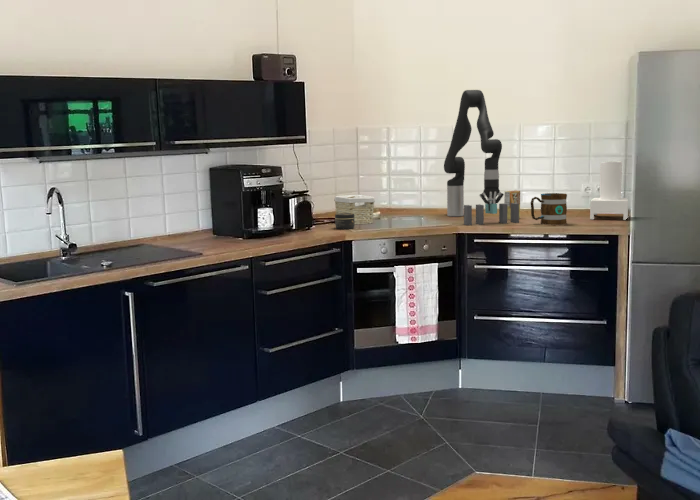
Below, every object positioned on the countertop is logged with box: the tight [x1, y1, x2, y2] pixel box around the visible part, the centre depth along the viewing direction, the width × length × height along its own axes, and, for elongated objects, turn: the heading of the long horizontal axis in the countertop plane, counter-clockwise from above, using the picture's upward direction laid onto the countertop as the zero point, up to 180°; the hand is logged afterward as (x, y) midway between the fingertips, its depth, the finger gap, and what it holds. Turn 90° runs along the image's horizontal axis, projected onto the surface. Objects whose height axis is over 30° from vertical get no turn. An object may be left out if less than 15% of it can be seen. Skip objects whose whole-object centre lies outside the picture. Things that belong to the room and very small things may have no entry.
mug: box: [530, 192, 568, 226], centre depth 409 cm, size 20×14×15 cm
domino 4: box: [510, 203, 520, 224], centre depth 418 cm, size 2×5×10 cm, turn 12°
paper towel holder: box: [589, 160, 629, 221], centre depth 429 cm, size 19×19×30 cm
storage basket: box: [334, 194, 376, 225], centre depth 435 cm, size 24×16×15 cm
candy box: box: [503, 189, 521, 221], centre depth 435 cm, size 9×4×15 cm, turn 129°
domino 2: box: [475, 203, 485, 226], centre depth 414 cm, size 2×5×10 cm, turn 12°
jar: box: [334, 213, 356, 231], centre depth 408 cm, size 10×10×8 cm
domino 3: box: [498, 203, 508, 225], centre depth 417 cm, size 2×5×10 cm, turn 12°
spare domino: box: [484, 203, 498, 215], centre depth 415 cm, size 2×5×10 cm
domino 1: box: [463, 204, 473, 226], centre depth 413 cm, size 2×5×10 cm, turn 12°
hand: (491, 211), depth 415 cm, fingers closed, pressing on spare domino
